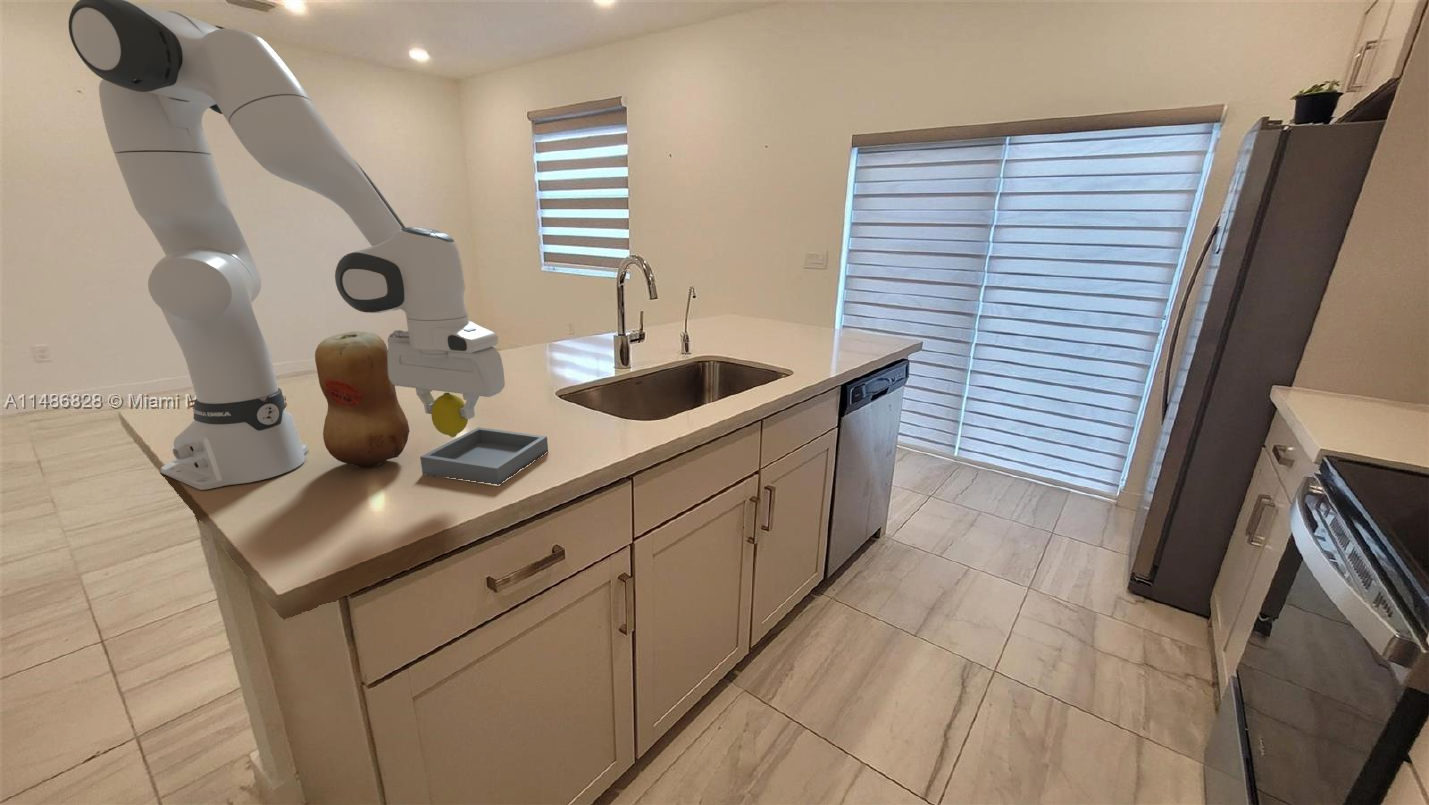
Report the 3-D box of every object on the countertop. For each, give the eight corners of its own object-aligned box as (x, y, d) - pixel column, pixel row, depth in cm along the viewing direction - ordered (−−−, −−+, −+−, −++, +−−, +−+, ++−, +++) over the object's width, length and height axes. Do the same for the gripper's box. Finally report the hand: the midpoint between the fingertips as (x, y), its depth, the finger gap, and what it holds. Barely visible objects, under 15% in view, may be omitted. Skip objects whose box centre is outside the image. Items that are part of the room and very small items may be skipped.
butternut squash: (313, 479, 97) (282, 340, 90) (354, 450, 110) (331, 325, 102) (394, 479, 98) (371, 341, 91) (426, 449, 111) (408, 326, 103)
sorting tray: (422, 474, 100) (420, 456, 99) (480, 443, 115) (478, 427, 114) (499, 486, 97) (497, 468, 96) (548, 452, 111) (547, 436, 110)
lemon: (428, 439, 93) (420, 394, 90) (457, 428, 98) (450, 385, 95) (449, 446, 90) (442, 400, 88) (478, 435, 95) (471, 391, 92)
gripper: (371, 332, 88) (384, 414, 92) (480, 342, 83) (489, 428, 87) (402, 326, 94) (413, 403, 98) (506, 335, 89) (513, 416, 93)
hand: (450, 415), depth 93 cm, fingers closed on lemon, 6 cm apart
